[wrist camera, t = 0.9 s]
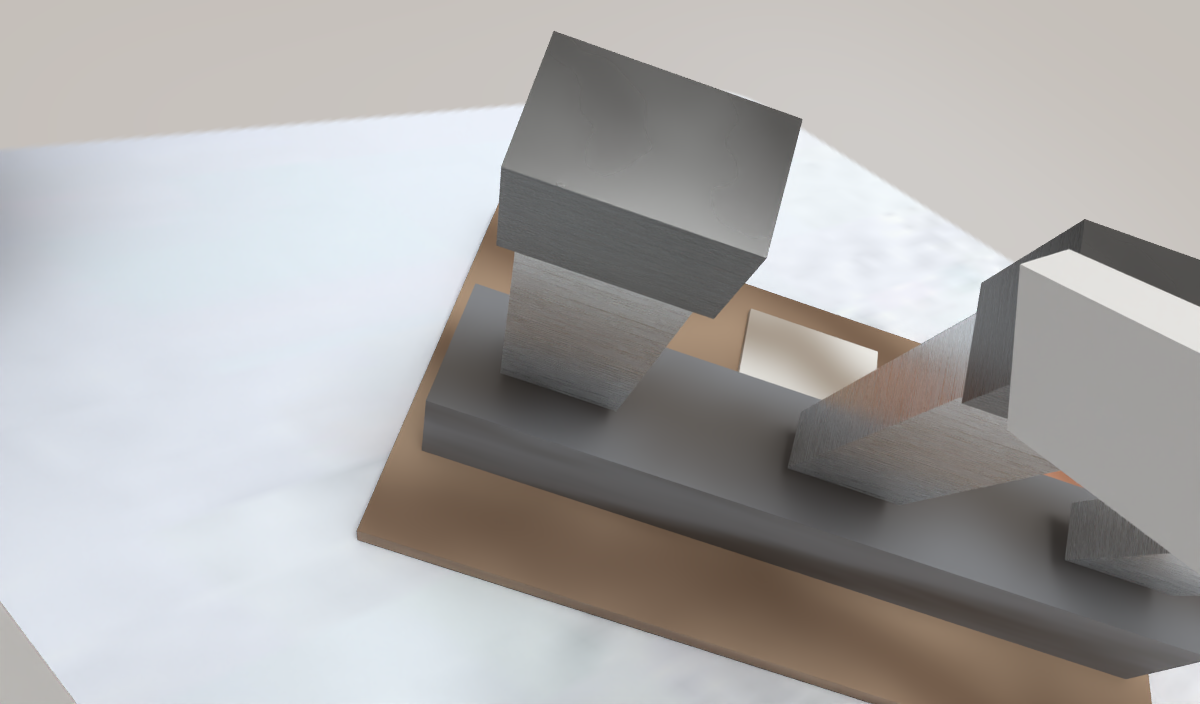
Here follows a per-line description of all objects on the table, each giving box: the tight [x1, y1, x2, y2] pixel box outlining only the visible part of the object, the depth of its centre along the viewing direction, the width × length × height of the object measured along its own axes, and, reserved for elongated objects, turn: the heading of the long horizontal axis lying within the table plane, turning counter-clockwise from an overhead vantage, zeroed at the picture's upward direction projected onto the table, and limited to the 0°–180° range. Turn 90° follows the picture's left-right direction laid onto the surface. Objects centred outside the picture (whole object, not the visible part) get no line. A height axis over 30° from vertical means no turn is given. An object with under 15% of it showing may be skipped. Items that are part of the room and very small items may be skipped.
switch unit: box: [357, 204, 1200, 704], centre depth 32 cm, size 16×30×5 cm, turn 75°
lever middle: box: [788, 219, 1200, 505], centre depth 21 cm, size 3×5×14 cm, turn 76°
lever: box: [496, 31, 802, 411], centre depth 21 cm, size 3×5×14 cm, turn 76°
